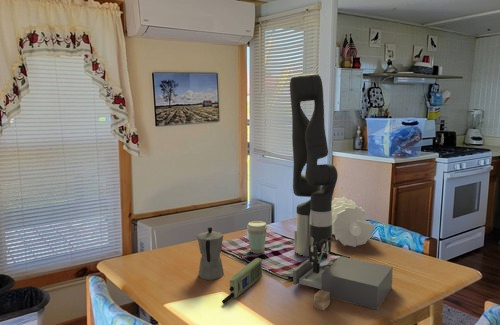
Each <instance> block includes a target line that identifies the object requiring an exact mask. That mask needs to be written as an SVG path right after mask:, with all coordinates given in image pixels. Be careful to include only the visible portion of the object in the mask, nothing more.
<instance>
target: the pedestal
mask: <svg viewBox="0 0 500 325" xmlns="http://www.w3.org/2000/svg"><path fill="white" fill-rule="evenodd" d="M330 300H331V299H330V292H327V291H323V290H322V289H319V290H318V291H317V292H316V293H315V294H314V295H313V301H314V302H313V307H314V308H315V309H318V310H322V311H325V310H326V309H327V308H328V306H330V304H331V303H330V302H331V301H330Z"/></svg>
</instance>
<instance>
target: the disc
mask: <svg viewBox="0 0 500 325" xmlns="http://www.w3.org/2000/svg"><path fill="white" fill-rule="evenodd" d="M317 259H318V256H317ZM311 266H312V267H313V262H311ZM329 266H330V259H329V258H328V257H327V258H324V257H321V258H320V269H326V268H328V267H329Z"/></svg>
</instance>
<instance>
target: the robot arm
mask: <svg viewBox="0 0 500 325" xmlns="http://www.w3.org/2000/svg"><path fill="white" fill-rule="evenodd" d="M289 93H290V106H291V118H292V122H291V124H292V126H291V127H292V129H291V132H292V135H291V136H292V143H291V144H292V154H293V155H292V158H293V159H292V160H293V167H292V168H293V170H292V171H293V172H292V173H293V174H292V176H293V177H292V190H293V193H294V196H296V197H309V198H310V199H309V200H307V201H305V202H302V203H299V204H298V205H296V224H295V225H296V229H295V230H294V234H293V235H294V238H293V239H294V245H293V246H294V249H293V250H294V252H296V253H295V254H297V253H298V254H297V255H299V256H301V255H303V256H302V257H308V256H309V257H308V258H309V261H310V262H313V272H314V273H317V274H318V273H319V272H320V258H321V257H324V258H327V259H328V257H329V254H331V249H332V240H333V237H332V235H333V234H332V201H333V200H332V199H333V195H334V191H335V188H336V185H337V181H338V176H339V175H338V170H337V168H336V166H335V165H334V164H331V163H326V164H324V163H322V164H318V160H320V159H323V158H326V157H327V156H328V155H329V148H328V141H327V135H326V128H325V106H324V102H325V101H324V87H323V81H322V79H321V76H320V74H319V73H308V74H299V75H293V76H291V78H290V81H289ZM311 101H313V103H314V106H313V107H314V108H313V112H312V114H311V117H310V120H309V118H308V117H307V115H306V114H305V112H304V111H303V108H302V105H301V103H302V102H311ZM305 167H306V168H305ZM304 168H305V172H304V173H302V172H303V170H304ZM321 186H322V187H321ZM312 256H313V257H312ZM317 257H318V259H317Z"/></svg>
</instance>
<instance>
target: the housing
mask: <svg viewBox="0 0 500 325" xmlns="http://www.w3.org/2000/svg"><path fill="white" fill-rule="evenodd" d="M392 289H393V266H390V265H385V264H380V263H377V262H376V263H375V262H370V261H365V260H360V259H357V258H350V257H347V256H340V257H339V258H337V259H336V260H335V261H334V262H333V263H332V264H331V265H329V267H328V268H327V269H326V270H325V271H324V272H323V273H322V289H321V290H323V291H327V292H330V298H331V299H334V300H339V301H342V302H347V303H351V304H353V305H357V306H361V307H365V308H368V309H372V310H377V311H378V309H379V308H380V306H381V305H382V303H383V302H384V300H385V299H386V298H387V296H388V295H389V293H390V292H391V290H392Z"/></svg>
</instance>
